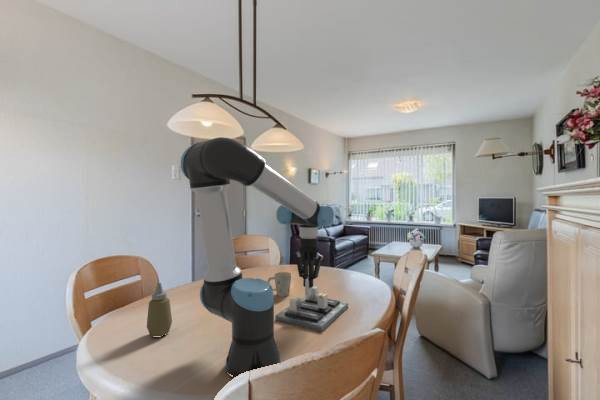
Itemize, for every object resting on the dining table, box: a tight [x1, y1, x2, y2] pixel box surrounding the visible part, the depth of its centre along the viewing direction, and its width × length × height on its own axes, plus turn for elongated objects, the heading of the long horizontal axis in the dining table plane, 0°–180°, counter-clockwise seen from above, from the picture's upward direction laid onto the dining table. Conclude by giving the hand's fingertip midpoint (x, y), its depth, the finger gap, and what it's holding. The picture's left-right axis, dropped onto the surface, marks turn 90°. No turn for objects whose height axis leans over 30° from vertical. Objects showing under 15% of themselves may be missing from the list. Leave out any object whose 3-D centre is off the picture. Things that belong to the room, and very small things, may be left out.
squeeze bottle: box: [146, 282, 173, 337], centre depth 102 cm, size 8×8×18 cm
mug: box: [266, 271, 292, 298], centre depth 143 cm, size 8×13×10 cm, turn 78°
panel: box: [274, 285, 349, 332], centre depth 119 cm, size 26×20×8 cm
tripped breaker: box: [318, 292, 329, 309], centre depth 117 cm, size 3×3×5 cm
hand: (308, 295), depth 119 cm, fingers closed
